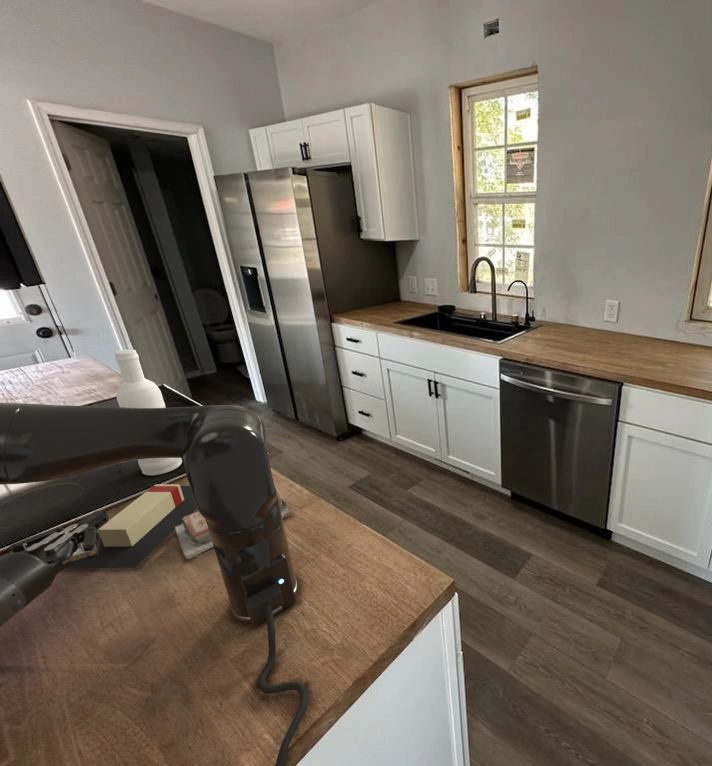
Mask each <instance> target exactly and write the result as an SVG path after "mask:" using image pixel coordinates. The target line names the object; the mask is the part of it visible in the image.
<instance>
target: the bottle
mask: <svg viewBox="0 0 712 766" xmlns="http://www.w3.org/2000/svg"><path fill="white" fill-rule="evenodd" d="M113 354H114V359H115V362H117V365H118V368H119V371H120V374H121V377H122V380H123V382H122V383H121V385H119V387H118V388H117V391H116V401H117V404H118V407H124V408H167V407H166V403H165V401H164V397H163V394H162V391H161V389H160V388H159V386H158V385H157V384H156V383H155V382H154V381H152V380H150V379H147V378H145V375H144V372H143V368H142V365H141V363H140V356H139V353H137V350H136V349H133V348H126V349H125V348H124V349H120V350H116V351H115V352H114V353H113ZM137 462H138V463H137V464H138V466H139V468H140V470H141V473H142V474H143V475H145V476H159V475H164V474H167V473H169V472H172V471H174V470H176V469H178V468H179V467H180V466H181V465H182V463H183V459H182V458H151V459H140V460H137Z"/></svg>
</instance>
